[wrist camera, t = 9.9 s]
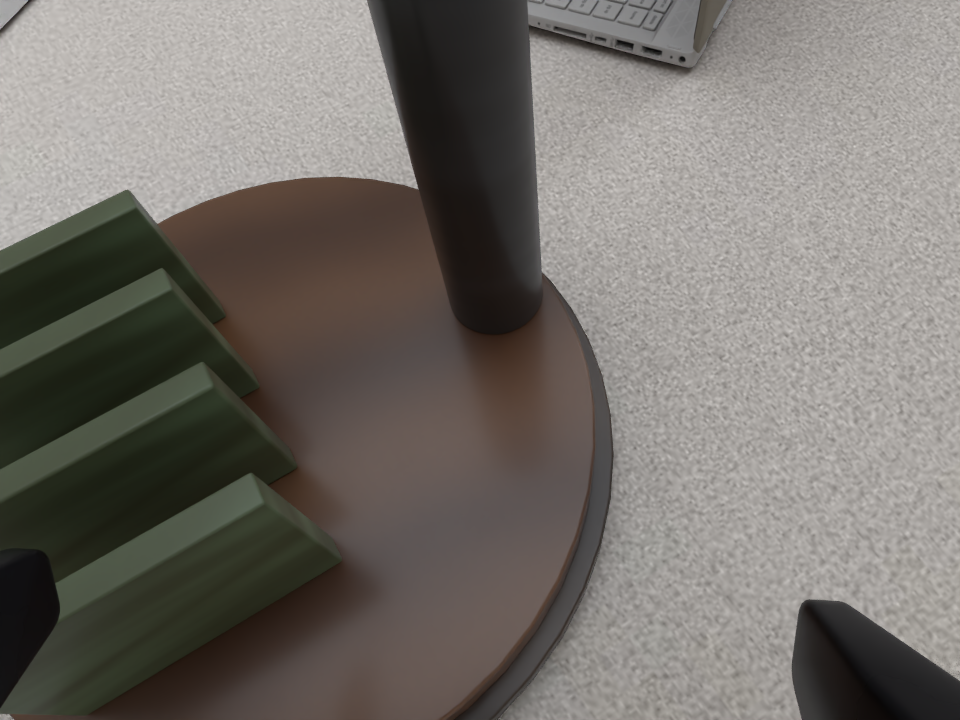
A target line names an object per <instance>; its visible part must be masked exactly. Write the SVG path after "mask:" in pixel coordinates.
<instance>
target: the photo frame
mask: <svg viewBox="0 0 960 720" xmlns="http://www.w3.org/2000/svg"><path fill="white" fill-rule="evenodd" d="M27 1H28V0H0V29H1V28H2V27H3V26H4V25H5V24H6V23H7V22H8V21H9V20H10V19H11V18H12V17H13V16H14V15H15V14H16V13H17V12H18V11H19V10H20V9H21V8H22V7H23V6H24V5H25V3H26V2H27Z"/></svg>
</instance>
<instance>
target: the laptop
mask: <svg viewBox="0 0 960 720" xmlns="http://www.w3.org/2000/svg"><path fill="white" fill-rule="evenodd" d="M732 1H733V0H527V3H528V22H529V25H531V26H534V27H538V28H541V29H545V30H548V31H552V32H555V33H559V34H563V35H566V36H570V37H573V38H577V39H580V40H584V41H587V42H591V43H594V44H598V45H602V46H605V47H609V48H613V49H617V50H620V51H624V52H628V53H631V54H635V55H639V56H643V57H647V58H651V59H655V60H659V61H663V62H667V63H671V64H675V65H679V66H683V67H693V66H695V65H696V63H697V61H698V60H699V58H700V56H701V55H702V53H703V51H704V50H705V48H706V46H707V41H708V39H709V37H710V36H711V34H712V32H713V31H715V30H716V28H717V26H718V25H719V23H720V21H721V19H722V18H723V16H724V14H725V13H726V11H727V9H728V8H729V6H730V4H731V2H732Z"/></svg>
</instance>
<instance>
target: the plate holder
mask: <svg viewBox="0 0 960 720" xmlns="http://www.w3.org/2000/svg"><path fill="white" fill-rule="evenodd" d="M367 2H368V6H369V10H370V13H371V17H372V21H373V24H374V28H375V32H376V35H377V39H378V42H379V46H380V50H381V53H382V57H383V61H384V64H385V68H386V72H387V75H388V79H389V83H390V86H391V90H392V94H393V97H394V101H395V105H396V108H397V112H398V116H399V119H400V123H401V127H402V130H403V134H404V138H405V141H406V145H407V148H408V152H409V156H410V159H411V163H412V167H413V170H414V174H415V178H416V181H417V185H418V189H419V190H418V189H415V188H411V187H408V186H405V185H400V184H395V183H389V182H384V181H378V180H373V179H361V178H347V177H320V178H301V179H294V180H287V181H279V182H272V183H267V184H263V185H259V186H255V187H250V188H246V189H242V190H238V191H235V192H232V193H229V194H226V195H223V196H220V197H217V198H214V199H211V200H208V201H205V202H203V203H200V204H198V205H196V206H194V207H191V208H189V209H187V210H185V211H182V212H180V213H178V214H175V215H173V216H171V217H169V218H168V219H166V220H164V221H162V222H160V223H159V224H157V223H156V222H155V221H154V220H153V219H152V217H151V216H150V215H149V214H148V212H147V211H146V210H145V209H144V208H143V206H142V205H141V204H140V203H139V201H138V200H137V199H136V198H135V196H134V195H133V194H132V193H131V192H130V191H129V190H125V191H123V192H121V193H119V194H117V195H115V196H112V197H110V198H108V199H106V200H104V201H102V202H100V203H98V204H96V205H94V206H92V207H90V208H88V209H86V210H83V211H81V212H79V213H77V214H75V215H73V216H71V217H69V218H67V219H65V220H63V221H61V222H59V223H57V224H55V225H52V226H50V227H48V228H46V229H44V230H42V231H40V232H38V233H36V234H34V235H32V236H30V237H28V238H26V239H23V240H21V241H19V242H17V243H15V244H13V245H11V246H9V247H7V248H5V249H3V250H1V251H0V551H2V550H5V549H8V548H24V549H38V550H41V551H43V552H45V553H46V555H47V556H48V557H49V559H50V562H51V567H52V571H53V575H54V580H55V584H56V588H57V593H58V597H59V602H60V615H59V619H58V621H57V624H56V626H55V628H54V629H53V631H52V632H51V634H50V635H49V637H48V638H47V640H46V641H45V643H44V644H43V646H42V647H41V649H40V650H39V652H38V653H37V655H36V656H35V658H34V659H33V661H32V662H31V663H30V665H29V666H28V668H27V669H26V671H25V672H24V674H23V675H22V677H21V678H20V680H19V681H18V683H17V684H16V686H15V687H14V689H13V690H12V692H11V693H10V695H9V696H8V698H7V699H6V701H5V702H4V704H3V705H2V706H1V708H0V714H10V715H11V716H12V717H13V719H14V720H454V719H455V718H456V717H458V716H459V715H460V714H462V713H463V712H464V711H466V710H467V709H468V708H469V707H470V706H471V705H472V704H473V703H474V702H475V701H476V700H477V699H478V698H479V697H480V696H481V695H482V694H483V693H484V692H485V691H486V690H487V689H488V688H489V687H490V686H491V685H492V684H493V683H494V682H495V681H496V680H497V679H498V678H499V677H500V676H501V675H502V674H503V673H504V672H505V671H506V670H507V669H508V667H509V666H510V665H511V664H512V662H513V661H514V660H515V658H516V657H517V656H518V654H519V653H520V652H521V650H522V649H523V648H524V647H525V645H526V644H527V643H528V641H529V640H530V639H531V637H532V636H533V635H534V634H535V632H536V631H537V629H538V627H539V625H540V624H541V622H542V620H543V619H544V617H545V615H546V613H547V612H548V610H549V608H550V606H551V605H552V603H553V601H554V599H555V598H556V596H557V594H558V593H559V591H560V589H561V586H562V584H563V582H564V579H565V577H566V574H567V572H568V569H569V567H570V565H571V562H572V560H573V557H574V555H575V552H576V550H577V548H578V544H579V541H580V537H581V533H582V529H583V525H584V522H585V518H586V514H587V510H588V506H589V501H590V493H591V484H592V476H593V468H594V459H595V450H596V438H595V404H594V398H593V392H592V386H591V380H590V374H589V368H588V365H587V362H586V359H585V356H584V352H583V349H582V346H581V343H580V340H579V337H578V334H577V331H576V329H575V327H574V325H573V323H572V321H571V319H570V317H569V315H568V313H567V311H566V309H565V307H564V305H563V303H562V301H561V299H560V298H559V296H558V295H557V293H556V292H555V290H554V289H553V287H552V286H551V285H550V283H549V282H548V280H547V279H546V277H545V276H544V274H543V273H542V270H541V251H540V232H539V213H538V194H537V175H536V156H535V137H534V117H533V98H532V79H531V60H530V41H529V22H528V3H527V0H367Z"/></svg>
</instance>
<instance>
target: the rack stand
mask: <svg viewBox="0 0 960 720" xmlns="http://www.w3.org/2000/svg"><path fill="white" fill-rule="evenodd" d="M544 276H545V275H544ZM545 277H546V276H545ZM546 279H547V280H548V282H549V283H550V285H551V286H552V287H553V289H554V290H555V292H556V293H557V295H558V296H559V298H560V299H561V301H562V303H563V305H564V307H565V309H566V311H567V313H568V315H569V317H570V319H571V321H572V323H573V325H574V327H575V329H576V331H577V334H578V337H579V340H580V343H581V346H582V349H583V352H584V356H585V359H586V362H587V365H588V368H589V374H590V380H591V386H592V392H593V398H594V404H595V438H596V450H595V459H594V468H593V476H592V484H591V493H590V501H589V506H588V510H587V514H586V518H585V522H584V525H583V529H582V533H581V537H580V541H579V544H578V548H577V550H576V552H575V555H574V557H573V560H572V562H571V565H570V567H569V569H568V572H567V574H566V577H565V579H564V582H563V584H562V586H561V589H560V591H559V593H558V594H557V596H556V598H555V599H554V601H553V603H552V605H551V606H550V608H549V610H548V612H547V613H546V615H545V617H544V619H543V620H542V622H541V624H540V625H539V627H538V629H537V631H536V632H535V634H534V635H533V636H532V637H531V639H530V640H529V641H528V643H527V644H526V645H525V647H524V648H523V649H522V650H521V652H520V653H519V654H518V656H517V657H516V658H515V660H514V661H513V662H512V664H511V665H510V666H509V667H508V669H507V670H506V671H505V672H504V673H503V674H502V675H501V676H500V677H499V678H498V679H497V680H496V681H495V682H494V683H493V684H492V685H491V686H490V687H489V688H488V689H487V690H486V691H485V692H484V693H483V694H482V695H481V696H480V697H479V698H478V699H477V700H476V701H475V702H474V703H473V704H472V705H471V706H470V707H469V708H468V709H467V710H466V711H464V712H463V713H462V714H460V715H459V716H458V717H456V718H455V719H454V720H496V719H498V718H499V717H500V716H501V714H502V713H503V712H504V711H505V710H506V709H507V708H508V707H509V706H510V705H511V703H512V702H513V701H514V700H515V699H516V698H517V697H518V696H519V695H520V694H521V693H522V691H523V690H524V689H525V688H526V687H527V686H528V685H529V684H530V683H531V682H532V680H533V679H534V678H535V676H536V675H537V673H538V672H539V671H540V669H541V668H542V666H543V665H544V663H545V662H546V661H547V659H548V658H549V656H550V655H551V653H552V652H553V650H554V649H555V648H556V646H557V645H558V643H559V642H560V640H561V639H562V637H563V635H564V633H565V631H566V629H567V627H568V625H569V623H570V622H571V620H572V618H573V616H574V614H575V612H576V610H577V608H578V606H579V604H580V602H581V600H582V598H583V596H584V594H585V591H586V588H587V585H588V583H589V580H590V577H591V574H592V571H593V568H594V566H595V563H596V560H597V557H598V554H599V552H600V547H601V542H602V537H603V533H604V528H605V523H606V518H607V513H608V509H609V504H610V498H611V484H612V469H613V442H612V428H611V414H610V409H609V405H608V400H607V395H606V391H605V386H604V382H603V377H602V374H601V371H600V368H599V366H598V363H597V360H596V358H595V355H594V352H593V350H592V347H591V344H590V342H589V339H588V338H587V336H586V334H585V332H584V330H583V328H582V327H581V325H580V323H579V321H578V319H577V318H576V316H575V314H574V312H573V310H572V309H571V307H570V306H569V305H568V303H567V302H566V301H565V299H564V298H563V297H562V295H561V294H560V293H559V291H558V290H557V289H556V287H555V286H554V285H553V283H552V282H551V281H550V280H549V279H548V278H547V277H546Z"/></svg>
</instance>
